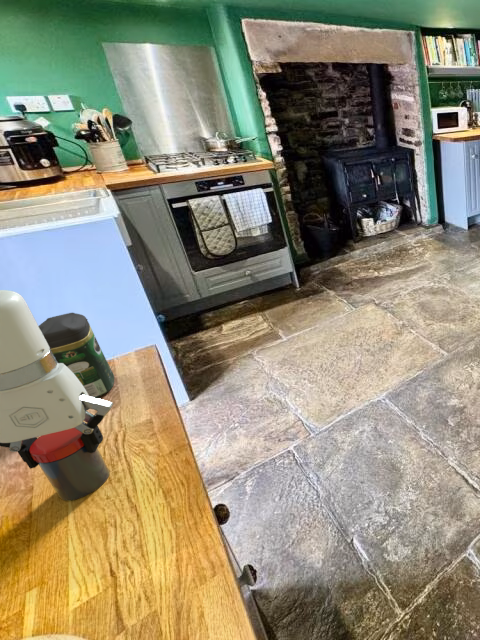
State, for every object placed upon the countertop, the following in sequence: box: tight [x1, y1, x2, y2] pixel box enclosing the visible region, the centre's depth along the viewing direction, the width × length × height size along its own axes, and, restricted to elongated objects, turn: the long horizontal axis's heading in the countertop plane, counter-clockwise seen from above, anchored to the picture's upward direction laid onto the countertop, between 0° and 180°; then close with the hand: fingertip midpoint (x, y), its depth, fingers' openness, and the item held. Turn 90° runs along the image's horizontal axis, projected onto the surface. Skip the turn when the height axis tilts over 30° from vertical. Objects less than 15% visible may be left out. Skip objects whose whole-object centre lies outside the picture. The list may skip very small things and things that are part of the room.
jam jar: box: [37, 445, 111, 502], centre depth 69 cm, size 6×6×11 cm
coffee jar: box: [38, 312, 115, 399], centre depth 88 cm, size 10×8×19 cm
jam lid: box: [29, 428, 84, 463], centre depth 67 cm, size 7×7×2 cm
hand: (67, 453), depth 68 cm, fingers closed on jam lid, 6 cm apart
